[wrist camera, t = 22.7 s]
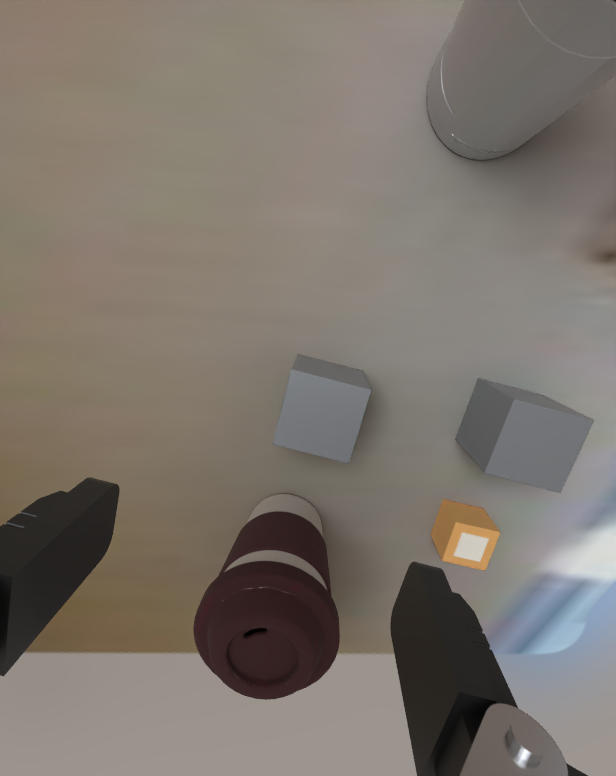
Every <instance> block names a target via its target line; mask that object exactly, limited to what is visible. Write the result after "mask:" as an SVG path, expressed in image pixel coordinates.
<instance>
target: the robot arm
mask: <svg viewBox="0 0 616 776" xmlns="http://www.w3.org/2000/svg"><path fill="white" fill-rule="evenodd" d="M615 75H616V0H465V2H464V4H463V6H462V8H461V10H460V12H459V14H458V16H457V18H456V21H455V23H454V25H453V27H452V28H451V30H450V33H449V35H448V37H447V39H446V41H445V43H444V45H443V47H442V50H441V52H440V54H439V56H438V58H437V60H436V62H435V64H434V67H433V69H432V72H431V76H430V79H429V82H428V91H427V106H428V114H429V117H430V121H431V124H432V126H433V128H434V130H435V132H436V134H437V136H438V137H439V138H440V140H441V141H442V142H443V143H444V144H445V145H446V146H447V147H448V148H449V149H451V150H452V151H453V152H455V153H456V154H459V155H461V156H464V157H466V158H470V159H476V160H486V159H494V158H497V157H501V156H504V155H506V154H508V153H510V152H512V151H513V150H515V149H517V148H518V147H520V146H521V145H522V144H524V143H525V142H526V141H528V140H529V139H530V138H532V137H533V136H534V135H536V134H537V133H539V132H540V131H541V130H543V129H544V128H546V127H547V126H548V125H550V124H551V123H552V122H554V121H555V120H556V119H558V118H559V117H560V116H562V115H563V114H564V113H566V112H567V111H568V110H570V109H571V108H572V107H574V106H575V105H577V104H578V103H579V102H581V101H582V100H583V99H585V98H586V97H587V96H589V95H590V94H591V93H593V92H594V91H595V90H597V89H598V88H599V87H601V86H602V85H603V84H605V83H606V82H607V81H609V80H610V79H611V78H613V77H614V76H615ZM118 497H119V486H118V485H117V484H114V483H110V482H106V481H102V480H98V479H94V478H90V477H89V478H86V479H85V480H84V481H82V482H81V483H80V484H78V485H77V486H76V487H75V488H73V489H72V490H71V491H69V492H68V493H67V492H64V491H59V492H56V493H53V494H50V495H48V496H45V497H42V498H40V499H38V500H36V501H35V502H34V503H32V504H31V505H29V506H28V507H27V508H25V509H24V510H23V511H21V514H17V515H16V516H14V517H13V518H11V519H10V520H9V521H7V523H6V525H4V524H3V525H2V526H0V675H1V676H4V675H5V674H6V673H7V672H8V671H9V669H10V668H11V667H12V666H13V665H14V663H15V662H16V661H17V660H18V659H19V657H20V656H21V655H22V654H23V653H24V651H25V650H26V649H27V648H28V647H29V645H30V644H31V643H32V642H33V641H34V639H35V638H36V637H37V636H38V635H39V634H40V632H41V631H42V630H43V629H44V628H45V626H46V625H47V624H48V623H49V622H50V620H51V619H52V618H53V617H54V616H55V614H56V613H57V612H58V611H59V610H60V608H61V607H62V606H63V605H64V604H65V602H66V601H67V600H68V599H69V598H70V596H71V595H72V594H73V593H74V592H75V590H76V589H77V588H78V587H79V586H80V585H81V583H82V582H83V581H84V580H85V579H86V577H87V576H88V575H89V574H90V573H91V571H92V570H93V569H94V568H95V567H96V565H97V564H98V563H99V562H100V561H101V559H102V558H103V556H104V555H105V553H106V551H107V549H108V547H109V545H110V542H111V539H112V535H113V530H114V523H115V517H116V510H117V504H118ZM391 637H392V642H393V647H394V653H395V658H396V664H397V669H398V674H399V679H400V685H401V691H402V696H403V701H404V707H405V712H406V718H407V722H408V728H409V734H410V739H411V745H412V750H413V755H414V761H415V766H416V771H417V776H587V775H586V774H584V773H582V772H580V771H578V770H577V769H575V768H573V767H572V766H570V765H568V764H567V763H566V762H565V759H564V757H563V755H562V752H561V751H560V749H559V747H558V746H557V744H556V742H555V741H554V740H553V738H552V737H551V736H550V735H549V733H548V732H547V731H546V730H545V729H544V728H543V727H542V726H541V725H540V724H539V723H538V722H537V721H536V720H534V719H533V718H532V717H531V716H529V715H528V714H526V713H525V712H523V711H522V710H520V709H518V707H517V705H516V703H515V700H514V698H513V696H512V694H511V692H510V689H509V687H508V685H507V683H506V680H505V678H504V676H503V674H502V672H501V669H500V667H499V665H498V663H497V661H496V659H495V656H494V654H493V652H492V650H490V649H489V647H490V645H489V643H488V641H487V639H486V637H485V634H483V633H482V628H481V626H480V623H479V621H478V619H477V617H476V615H475V612H474V611H473V610H472V608H471V607H470V606H469V605H468V604H467V603H466V601H465V600H464V599H463V598H462V597H461V595H460V594H457V593H453V592H452V591H451V588H450V586H449V583H448V581H447V579H446V576H445V574H444V572H443V570H442V569H441V568H437V567H433V566H429V565H425V564H421V563H417V562H412V563H411V564H410V566H409V568H408V570H407V573H406V575H405V578H404V581H403V583H402V586H401V589H400V591H399V594H398V597H397V599H396V602H395V605H394V607H393V611H392V616H391Z"/></svg>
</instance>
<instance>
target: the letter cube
mask: <svg viewBox="0 0 616 776" xmlns="http://www.w3.org/2000/svg"><path fill="white" fill-rule="evenodd" d="M500 533H501V532H500V531H499V530H498V528H497V527H496V525H495V524H494V523H493V521H492V520H491V518H490V517H489V516H488V514H487V513H486V511H485V510H484V509H483V508H479V507H475V506H471V505H467V504H462V503H458V502H454V501H449V500H445V499H443V501H442V504H441V506H440V509H439V512H438V515H437V518H436V521H435V524H434V526H433V529H432V532H431V537H432V539H433V541H434V544H435V546H436V548H437V551H438V553H439V555H440V558H441V560H442V561H445V562H449V563H454V564H458V565H462V566H467V567H471V568H475V569H480V570H484V571H485V570H486V568H487V565H488V563H489V560H490V558H491V555H492V553H493V550H494V548H495V545H496V543H497V540H498V538H499V535H500Z"/></svg>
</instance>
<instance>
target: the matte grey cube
mask: <svg viewBox="0 0 616 776" xmlns="http://www.w3.org/2000/svg"><path fill="white" fill-rule="evenodd" d="M593 422H594V420H593V419H590V418H588V417H586V416H584V415H582V414H580V413H578V412H576V411H574V410H572V409H570V408H568V407H566V406H564V405H562V404H560V403H558V402H556V401H553V400H551V399H549V398H547V397H545V396H543V395H540V394H536V393H532V392H528V391H524V390H521V389H517V388H513V387H509V386H506V385H502V384H498V383H494V382H491V381H487V380H483V379H479V378H478V381H477V383H476V386H475V389H474V391H473V394H472V397H471V399H470V402H469V405H468V407H467V410H466V413H465V415H464V418H463V421H462V423H461V426H460V429H459V431H458V434H457V437H456V439H455V440H456V441H457V442H458V443H459V444H460V445H461V447H462V448H463V449H464V450H465V451H466V452H467V454H468V455H469V456H470V457H471V458H472V459H473V461H474V462H475V463H476V464H477V465H478V466H479V468H480V469H481V470H482V471H483V472H484V473H486V474H489V475H493V476H497V477H501V478H505V479H509V480H512V481H516V482H520V483H524V484H528V485H532V486H535V487H539V488H543V489H547V490H551V491H555V492H558V493H561V491H562V489H563V487H564V484H565V482H566V480H567V478H568V476H569V474H570V471H571V469H572V467H573V465H574V463H575V461H576V458H577V456H578V454H579V452H580V450H581V448H582V445H583V443H584V441H585V439H586V437H587V435H588V432H589V430H590V428H591V426H592V424H593Z"/></svg>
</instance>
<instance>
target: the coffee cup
mask: <svg viewBox="0 0 616 776" xmlns="http://www.w3.org/2000/svg"><path fill="white" fill-rule="evenodd" d="M194 638H195V643H196V646H197V649H198V651H199V654H200V656H201V657H202V659H203V661H204V662H205V663H206V665H207V666H208V667H209V668H210V669H211V671H212V672H213V673H214V674H216V675H217V676H218V677H219V678H220V679H221V680H222V681H223V683H225V684H226V685H227V686H228V687H230V688H231V689H233V690H234V691H236V692H238V693H240V694H242V695H244V696H248V697H252V698H256V699H277V698H281V697H285V696H288V695H290V694H293V693H294V692H296V691H298V690H301V689H303V688H306V687H308V686H309V685H311V684H313V683H314V682H316V681H317V680H319V679H320V678H321V677H322V676H323V675H324V674H325V673H326V672H327V670H328V669H329V668H330V666H331V665H332V663H333V661H334V660H335V658H336V655H337V651H338V648H339V638H340V636H339V617H338V612H337V609H336V606H335V603H334V601H333V599H332V597H331V587H330V578H329V568H328V559H327V550H326V545H325V542H324V539H323V532H322V523H321V519H320V517H319V515H318V513H317V511H316V510H315V508H314V507H313V506H312V505H311V504H310V503H309V502H307V501H306V500H304V499H302V498H300V497H298V496H295V495H290V494H277V495H273V496H270V497H268V498H266V499H264V500H263V501H261V502H260V503H259V504H258V505H257V506H256V507H255V508H254V510H253V511H252V513H251V515H250V517H249V519H248V521H247V524H246V525H245V526H244V527H243V529H242V530H241V531H240V533H239V535H238V537H237V539H236V541H235V543H234V545H233V547H232V549H231V551H230V553H229V555H228V558H227V560H226V562H225V564H224V566H223V568H222V570H221V572H220V574H219V576H218V577H217V578H216V579H215V580H214V581H213V582H212V583H211V585H210V586H209V587H208V589H207V590H206V592H205V594H204V596H203V598H202V600H201V603H200V605H199V608H198V610H197V613H196V616H195V621H194Z"/></svg>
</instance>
